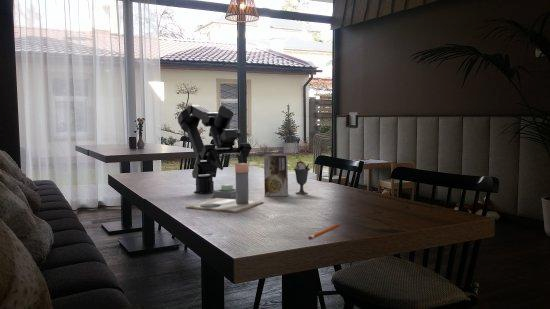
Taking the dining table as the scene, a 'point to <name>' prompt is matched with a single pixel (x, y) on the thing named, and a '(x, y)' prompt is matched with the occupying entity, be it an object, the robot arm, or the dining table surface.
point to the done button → (227, 187)
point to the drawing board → (223, 205)
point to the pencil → (323, 231)
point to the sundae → (301, 175)
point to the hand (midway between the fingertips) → (233, 168)
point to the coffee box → (276, 175)
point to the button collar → (224, 194)
